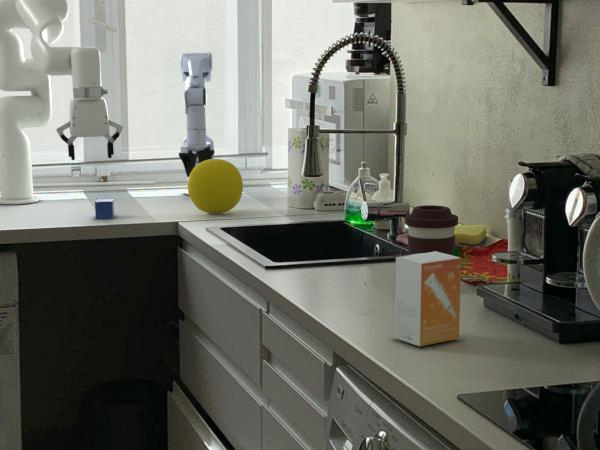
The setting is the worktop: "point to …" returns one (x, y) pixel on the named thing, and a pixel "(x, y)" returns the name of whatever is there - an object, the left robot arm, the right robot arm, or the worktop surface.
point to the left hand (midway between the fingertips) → (91, 158)
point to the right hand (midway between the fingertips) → (197, 175)
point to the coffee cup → (431, 230)
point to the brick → (104, 208)
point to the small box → (427, 298)
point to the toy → (215, 186)
